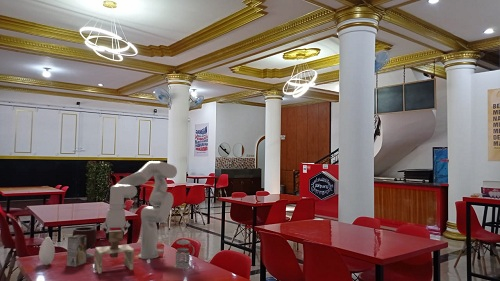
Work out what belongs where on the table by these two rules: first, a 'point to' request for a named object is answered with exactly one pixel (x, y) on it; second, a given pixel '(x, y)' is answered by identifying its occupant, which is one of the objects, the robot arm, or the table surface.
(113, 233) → the hanger peg
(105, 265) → the table surface
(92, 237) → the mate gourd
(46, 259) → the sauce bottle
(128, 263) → the stand
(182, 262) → the french press
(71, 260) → the coffee box
